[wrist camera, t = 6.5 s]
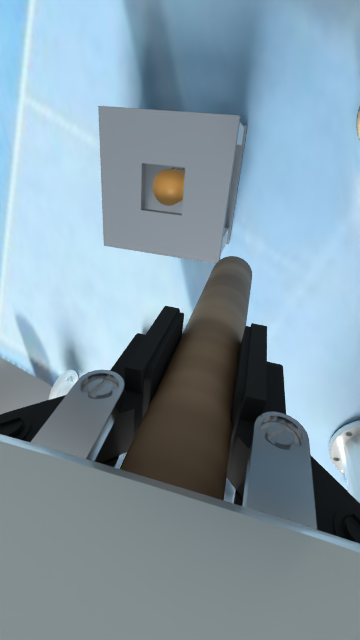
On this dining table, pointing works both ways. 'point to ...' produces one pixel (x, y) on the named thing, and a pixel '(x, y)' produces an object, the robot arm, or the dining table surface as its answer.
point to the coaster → (358, 123)
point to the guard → (162, 154)
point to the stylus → (197, 391)
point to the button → (169, 186)
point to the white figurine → (63, 384)
